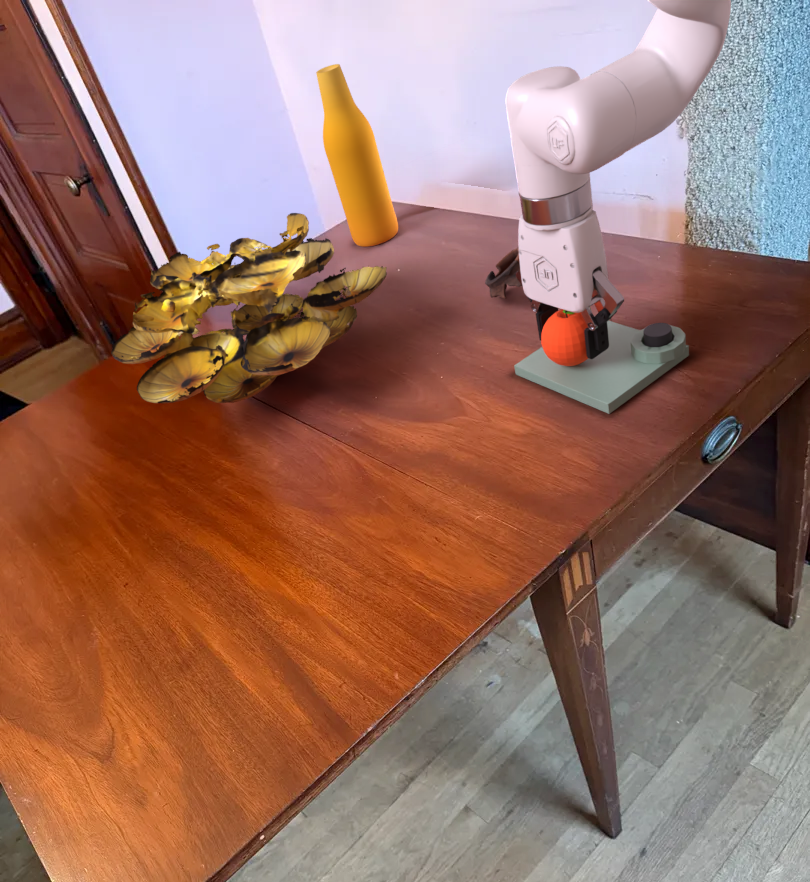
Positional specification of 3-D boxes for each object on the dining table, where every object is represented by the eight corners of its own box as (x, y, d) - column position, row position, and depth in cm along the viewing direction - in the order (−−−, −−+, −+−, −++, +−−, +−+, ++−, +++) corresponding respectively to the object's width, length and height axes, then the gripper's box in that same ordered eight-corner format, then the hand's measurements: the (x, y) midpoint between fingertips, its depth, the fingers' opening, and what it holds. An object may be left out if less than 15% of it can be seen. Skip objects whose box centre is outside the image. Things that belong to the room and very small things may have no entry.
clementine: (572, 337, 98) (566, 287, 93) (617, 348, 93) (613, 296, 89) (533, 369, 95) (525, 319, 90) (578, 382, 90) (571, 330, 86)
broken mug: (543, 320, 107) (506, 277, 103) (505, 333, 115) (469, 294, 112) (584, 260, 110) (549, 217, 106) (543, 278, 118) (510, 238, 115)
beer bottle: (347, 250, 143) (294, 83, 124) (361, 229, 149) (312, 66, 130) (392, 243, 140) (344, 70, 120) (404, 222, 146) (360, 54, 127)
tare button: (677, 338, 89) (677, 326, 88) (659, 350, 88) (659, 339, 87) (656, 331, 92) (655, 320, 91) (638, 344, 91) (637, 332, 90)
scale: (695, 354, 91) (696, 332, 89) (612, 415, 86) (610, 394, 84) (593, 321, 102) (591, 301, 100) (515, 374, 98) (511, 354, 96)
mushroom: (340, 273, 136) (307, 176, 125) (447, 368, 103) (416, 247, 91) (131, 368, 131) (76, 275, 119) (173, 500, 98) (103, 389, 86)
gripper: (478, 206, 86) (504, 341, 98) (592, 229, 74) (606, 380, 86) (526, 178, 88) (545, 314, 100) (643, 196, 76) (650, 348, 88)
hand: (573, 343), depth 93 cm, fingers open, 7 cm apart
